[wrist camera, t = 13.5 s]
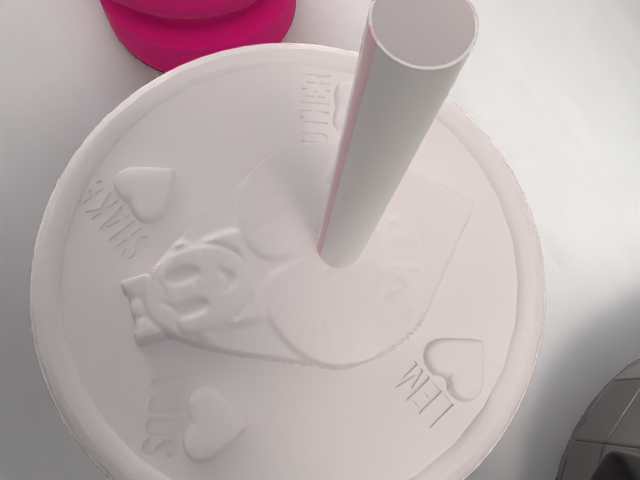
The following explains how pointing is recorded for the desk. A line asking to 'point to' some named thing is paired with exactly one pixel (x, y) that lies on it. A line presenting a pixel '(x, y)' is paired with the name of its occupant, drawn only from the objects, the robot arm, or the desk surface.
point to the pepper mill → (195, 27)
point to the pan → (605, 426)
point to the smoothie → (292, 267)
